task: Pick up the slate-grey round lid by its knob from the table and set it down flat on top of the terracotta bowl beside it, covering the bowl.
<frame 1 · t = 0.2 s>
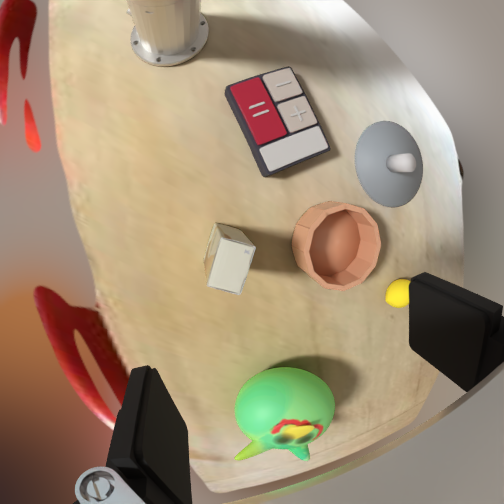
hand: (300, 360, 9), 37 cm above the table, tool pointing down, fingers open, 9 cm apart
lemon: (392, 288, 54), on the table
lid: (389, 163, 49), on the table
skincare box: (221, 245, 46), on the table
toy bird: (274, 388, 54), on the table
bowl: (328, 241, 49), on the table
calculator: (274, 122, 44), on the table
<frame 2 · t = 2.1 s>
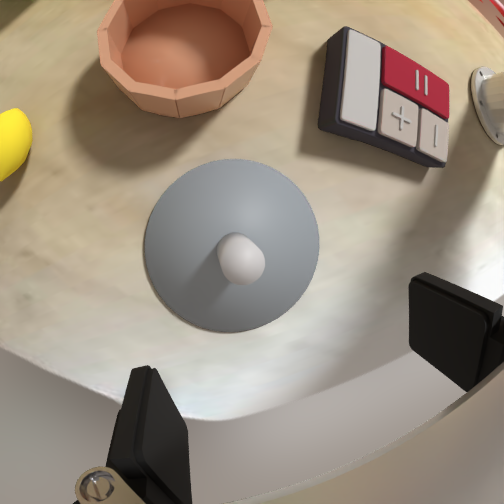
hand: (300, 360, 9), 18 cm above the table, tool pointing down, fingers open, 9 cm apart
lemon: (21, 146, 21), on the table
lid: (233, 248, 27), on the table
bowl: (184, 53, 22), on the table
calculator: (383, 103, 27), on the table
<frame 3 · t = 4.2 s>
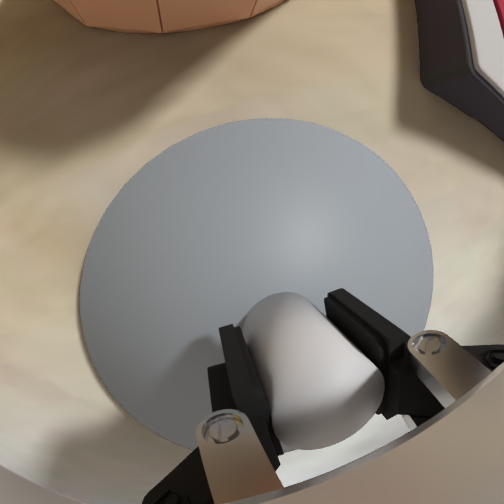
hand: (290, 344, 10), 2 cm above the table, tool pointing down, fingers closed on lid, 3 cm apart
lid: (276, 321, 12), on the table, touching gripper
calculator: (486, 69, 12), on the table
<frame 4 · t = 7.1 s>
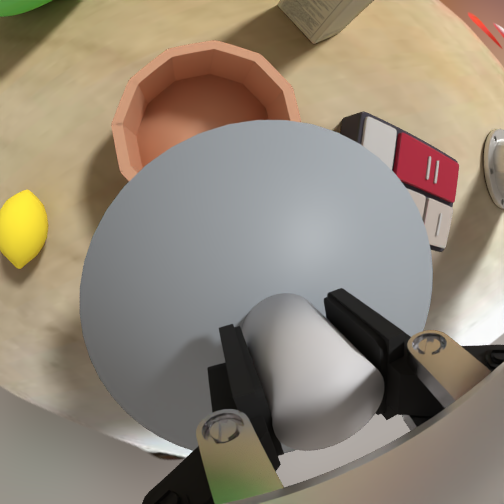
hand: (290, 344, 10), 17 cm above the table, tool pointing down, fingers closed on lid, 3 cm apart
lemon: (35, 225, 23), on the table
lid: (276, 322, 12), point 15 cm above the table, touching gripper
skincare box: (307, 18, 23), on the table
bowl: (204, 138, 24), on the table
calculator: (390, 187, 29), on the table
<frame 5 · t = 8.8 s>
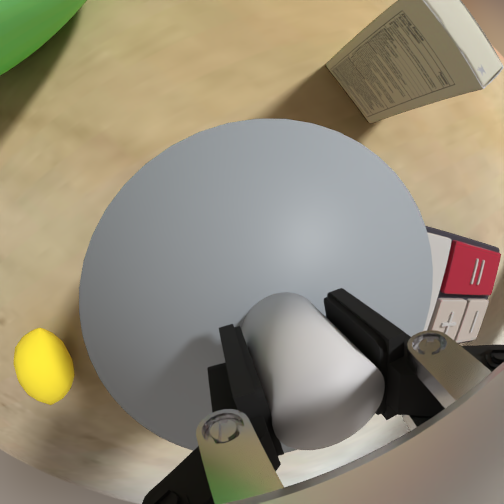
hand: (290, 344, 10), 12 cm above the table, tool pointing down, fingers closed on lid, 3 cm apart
lemon: (55, 351, 20), on the table
lid: (276, 321, 12), point 10 cm above the table, touching gripper
skincare box: (361, 82, 20), on the table
toy bird: (34, 17, 14), on the table
calculator: (432, 284, 26), on the table
when the fingers open (9 cm above the table, at t = 10.0 s): lid stays where it is, resting on bowl.
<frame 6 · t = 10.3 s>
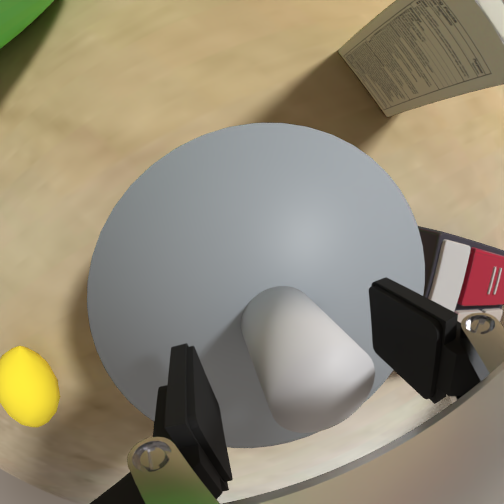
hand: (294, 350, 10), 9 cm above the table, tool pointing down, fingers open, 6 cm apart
lemon: (40, 369, 17), on the table
lid: (274, 314, 13), point 6 cm above the table, touching bowl
skincare box: (376, 72, 18), on the table
toy bird: (18, 4, 11), on the table
calculator: (445, 294, 24), on the table
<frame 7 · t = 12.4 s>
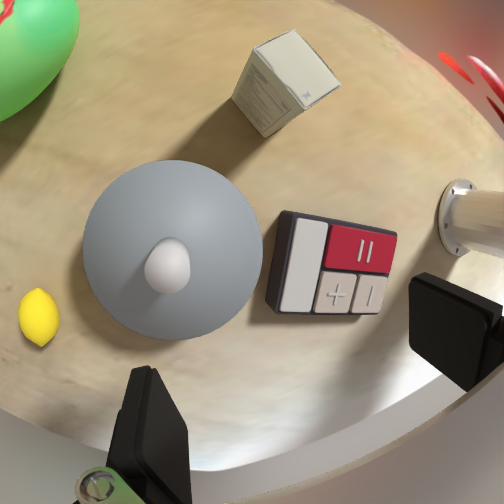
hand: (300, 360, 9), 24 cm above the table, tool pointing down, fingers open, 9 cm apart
lemon: (47, 308, 29), on the table
lid: (170, 253, 25), point 6 cm above the table, touching bowl
skincare box: (260, 107, 30), on the table
toy bird: (28, 66, 22), on the table
calculator: (328, 263, 36), on the table
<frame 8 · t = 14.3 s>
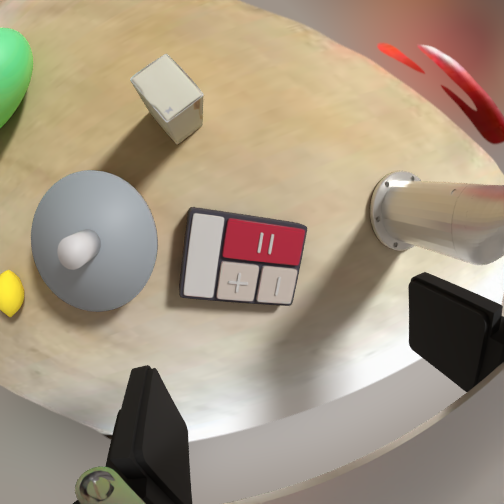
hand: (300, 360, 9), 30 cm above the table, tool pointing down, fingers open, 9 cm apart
lemon: (17, 287, 34), on the table
lid: (90, 242, 30), point 6 cm above the table, touching bowl
skincare box: (175, 117, 34), on the table
toy bird: (3, 95, 28), on the table
calculator: (239, 255, 40), on the table
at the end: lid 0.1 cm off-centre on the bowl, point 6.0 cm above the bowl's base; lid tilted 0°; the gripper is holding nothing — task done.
